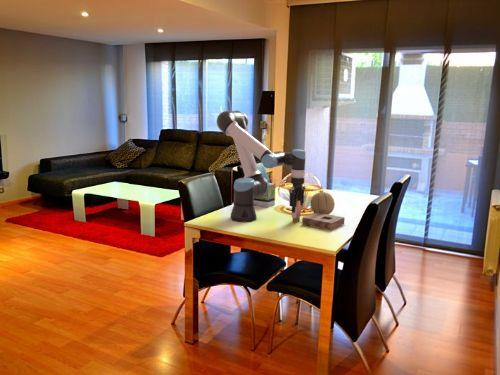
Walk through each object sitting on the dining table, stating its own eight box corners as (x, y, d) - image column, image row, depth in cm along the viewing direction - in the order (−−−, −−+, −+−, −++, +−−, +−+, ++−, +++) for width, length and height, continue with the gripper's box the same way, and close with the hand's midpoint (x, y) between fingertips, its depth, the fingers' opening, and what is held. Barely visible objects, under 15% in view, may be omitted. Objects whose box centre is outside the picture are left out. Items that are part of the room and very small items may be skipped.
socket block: (302, 224, 243) (302, 217, 243) (316, 218, 256) (316, 212, 255) (331, 230, 233) (331, 223, 232) (344, 224, 245) (344, 217, 244)
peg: (291, 221, 249) (291, 201, 247) (294, 219, 252) (295, 199, 250) (297, 222, 247) (297, 202, 244) (300, 221, 250) (301, 201, 247)
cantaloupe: (325, 220, 253) (326, 195, 250) (304, 215, 263) (306, 191, 260) (338, 215, 264) (340, 191, 261) (318, 211, 274) (319, 188, 271)
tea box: (275, 205, 288) (275, 183, 286) (267, 207, 280) (268, 185, 277) (256, 202, 296) (256, 180, 293) (248, 204, 288) (248, 182, 285)
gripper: (295, 179, 235) (293, 221, 240) (311, 175, 249) (309, 215, 253) (283, 178, 240) (282, 218, 244) (300, 174, 253) (298, 213, 258)
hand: (296, 216), depth 249 cm, fingers open, 4 cm apart
